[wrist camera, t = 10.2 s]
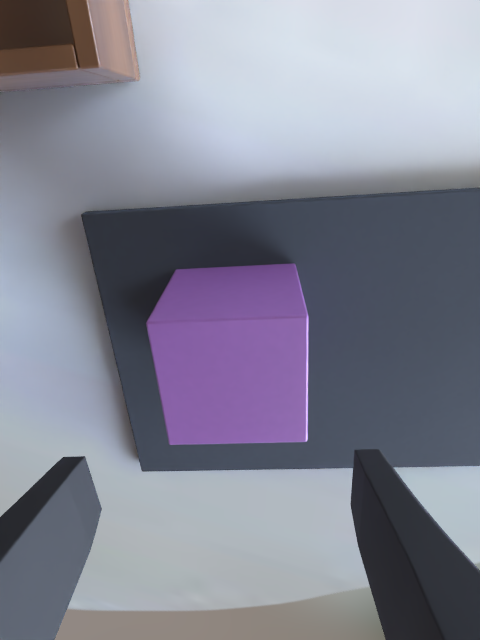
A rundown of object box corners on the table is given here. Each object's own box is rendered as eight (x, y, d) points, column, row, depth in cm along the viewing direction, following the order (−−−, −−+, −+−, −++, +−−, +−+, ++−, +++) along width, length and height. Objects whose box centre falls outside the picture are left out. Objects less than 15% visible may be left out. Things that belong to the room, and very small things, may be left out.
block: (189, 369, 19) (168, 445, 15) (175, 268, 17) (145, 322, 12) (296, 365, 19) (307, 442, 14) (295, 262, 17) (308, 315, 12)
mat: (143, 464, 23) (141, 471, 22) (85, 211, 17) (80, 214, 16) (516, 458, 21) (522, 465, 21) (603, 179, 15) (614, 181, 15)
